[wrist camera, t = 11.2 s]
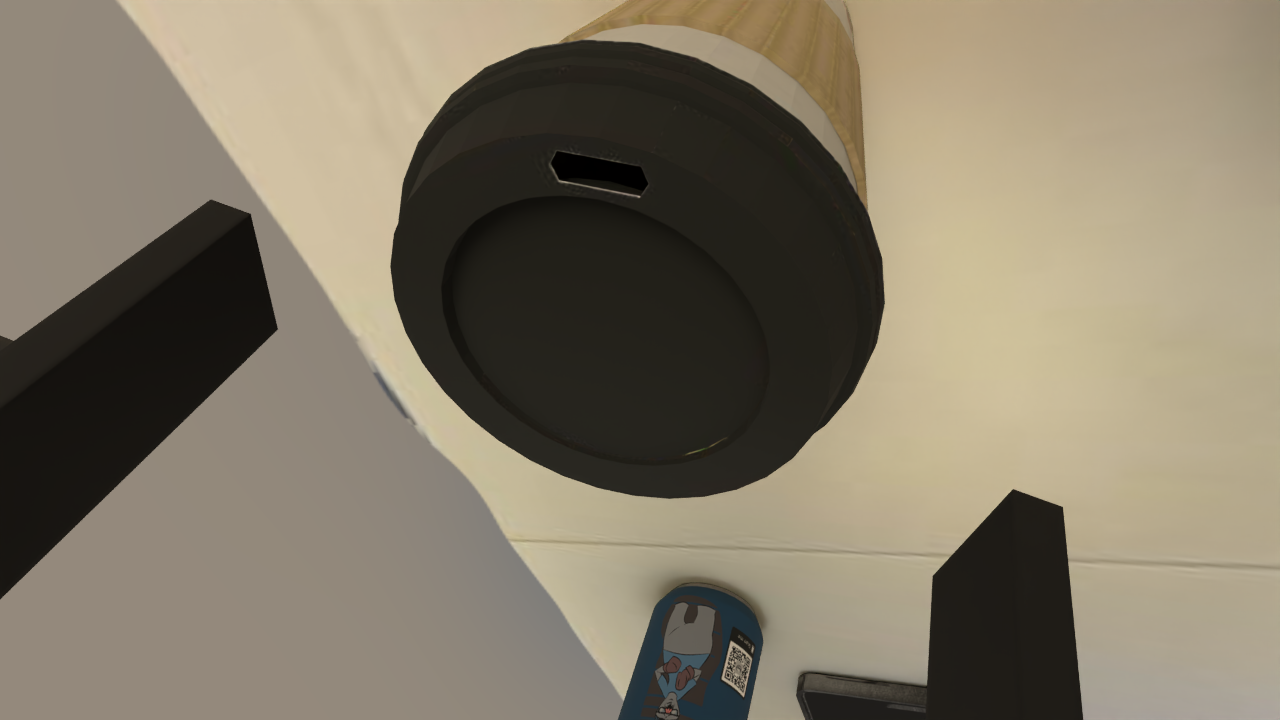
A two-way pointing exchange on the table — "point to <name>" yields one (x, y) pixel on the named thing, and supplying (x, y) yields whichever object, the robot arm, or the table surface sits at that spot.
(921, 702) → the phone
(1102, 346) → the table surface
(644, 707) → the soda can
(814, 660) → the table surface
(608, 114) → the coffee cup
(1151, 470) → the table surface
